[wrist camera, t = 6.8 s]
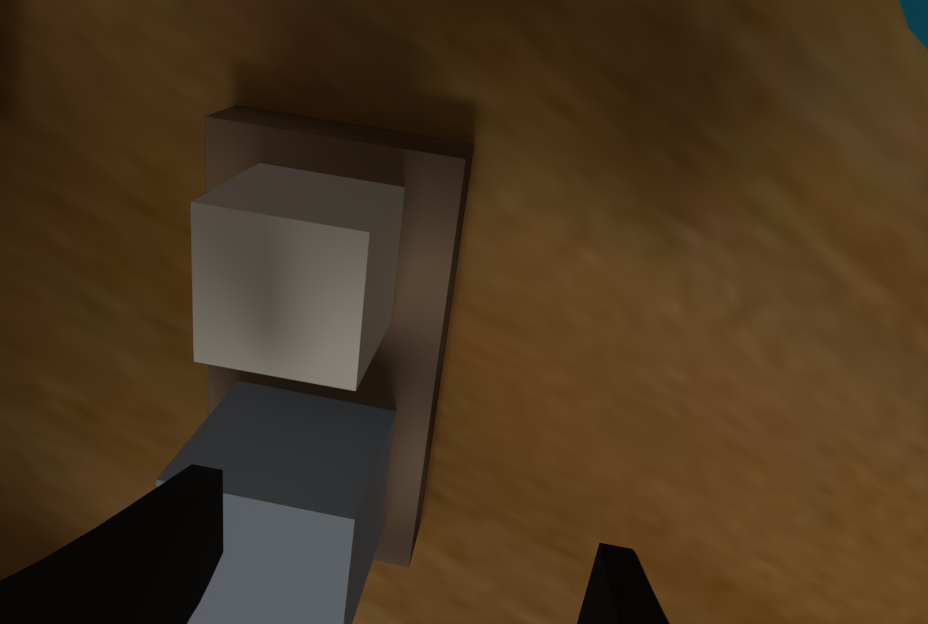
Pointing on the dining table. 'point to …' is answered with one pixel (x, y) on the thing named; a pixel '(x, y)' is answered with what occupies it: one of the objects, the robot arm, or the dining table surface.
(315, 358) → the grey block
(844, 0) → the dining table surface
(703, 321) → the dining table surface
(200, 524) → the robot arm
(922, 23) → the mug
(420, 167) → the base slab
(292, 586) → the grey cube
